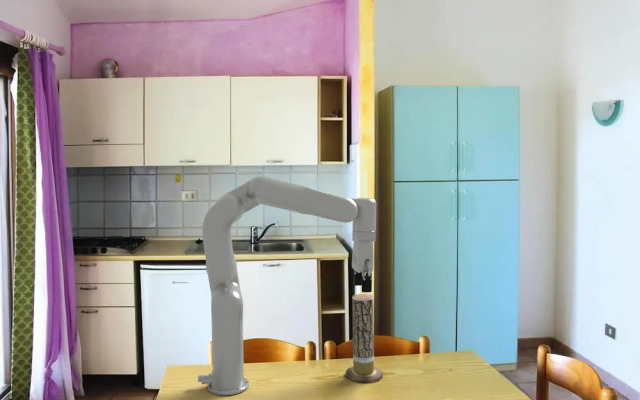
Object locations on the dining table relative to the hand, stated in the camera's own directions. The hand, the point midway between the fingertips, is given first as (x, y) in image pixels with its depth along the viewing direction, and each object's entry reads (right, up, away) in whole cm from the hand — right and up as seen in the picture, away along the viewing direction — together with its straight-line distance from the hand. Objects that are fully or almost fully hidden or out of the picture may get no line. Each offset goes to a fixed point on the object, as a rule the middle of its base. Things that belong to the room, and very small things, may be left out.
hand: (362, 288), depth 173 cm
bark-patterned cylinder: (+1, -28, +2) cm, 28 cm away
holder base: (+1, -29, +2) cm, 29 cm away
